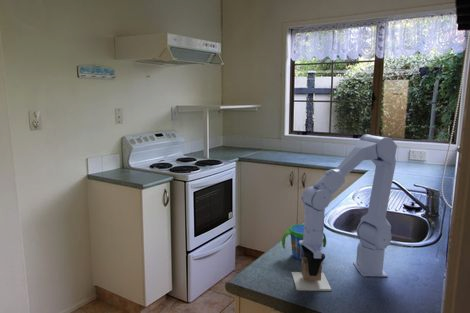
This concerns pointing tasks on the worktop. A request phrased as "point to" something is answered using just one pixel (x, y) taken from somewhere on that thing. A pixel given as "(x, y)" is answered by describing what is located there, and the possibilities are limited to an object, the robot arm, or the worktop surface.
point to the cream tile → (310, 283)
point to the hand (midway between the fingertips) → (311, 270)
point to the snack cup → (297, 240)
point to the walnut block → (306, 271)
